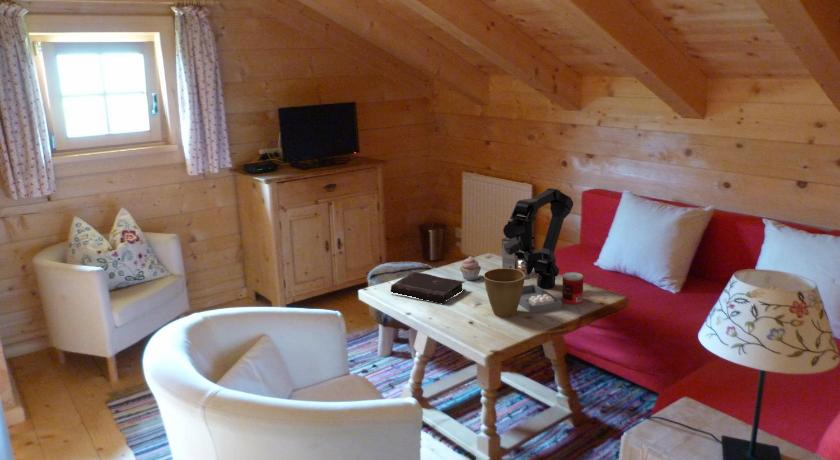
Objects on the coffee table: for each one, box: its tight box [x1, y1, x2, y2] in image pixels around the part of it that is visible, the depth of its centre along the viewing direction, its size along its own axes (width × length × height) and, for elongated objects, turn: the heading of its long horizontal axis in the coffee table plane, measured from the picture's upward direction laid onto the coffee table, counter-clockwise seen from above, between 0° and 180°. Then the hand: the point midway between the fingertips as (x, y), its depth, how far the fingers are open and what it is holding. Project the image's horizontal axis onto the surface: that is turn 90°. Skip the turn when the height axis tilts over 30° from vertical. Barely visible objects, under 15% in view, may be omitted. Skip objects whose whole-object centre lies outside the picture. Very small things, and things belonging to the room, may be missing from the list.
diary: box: [390, 271, 466, 305], centre depth 271 cm, size 19×25×5 cm
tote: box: [518, 283, 563, 314], centre depth 255 cm, size 13×21×4 cm, turn 19°
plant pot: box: [483, 267, 525, 318], centre depth 243 cm, size 15×15×16 cm
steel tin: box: [518, 258, 533, 281], centre depth 258 cm, size 6×6×7 cm
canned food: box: [561, 272, 584, 305], centre depth 253 cm, size 8×8×11 cm
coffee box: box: [501, 236, 518, 270], centre depth 290 cm, size 9×6×16 cm
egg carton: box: [529, 294, 554, 305], centre depth 249 cm, size 8×5×4 cm, turn 109°
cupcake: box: [459, 255, 482, 281], centre depth 285 cm, size 9×9×10 cm
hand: (525, 271), depth 258 cm, fingers closed on steel tin, 6 cm apart
